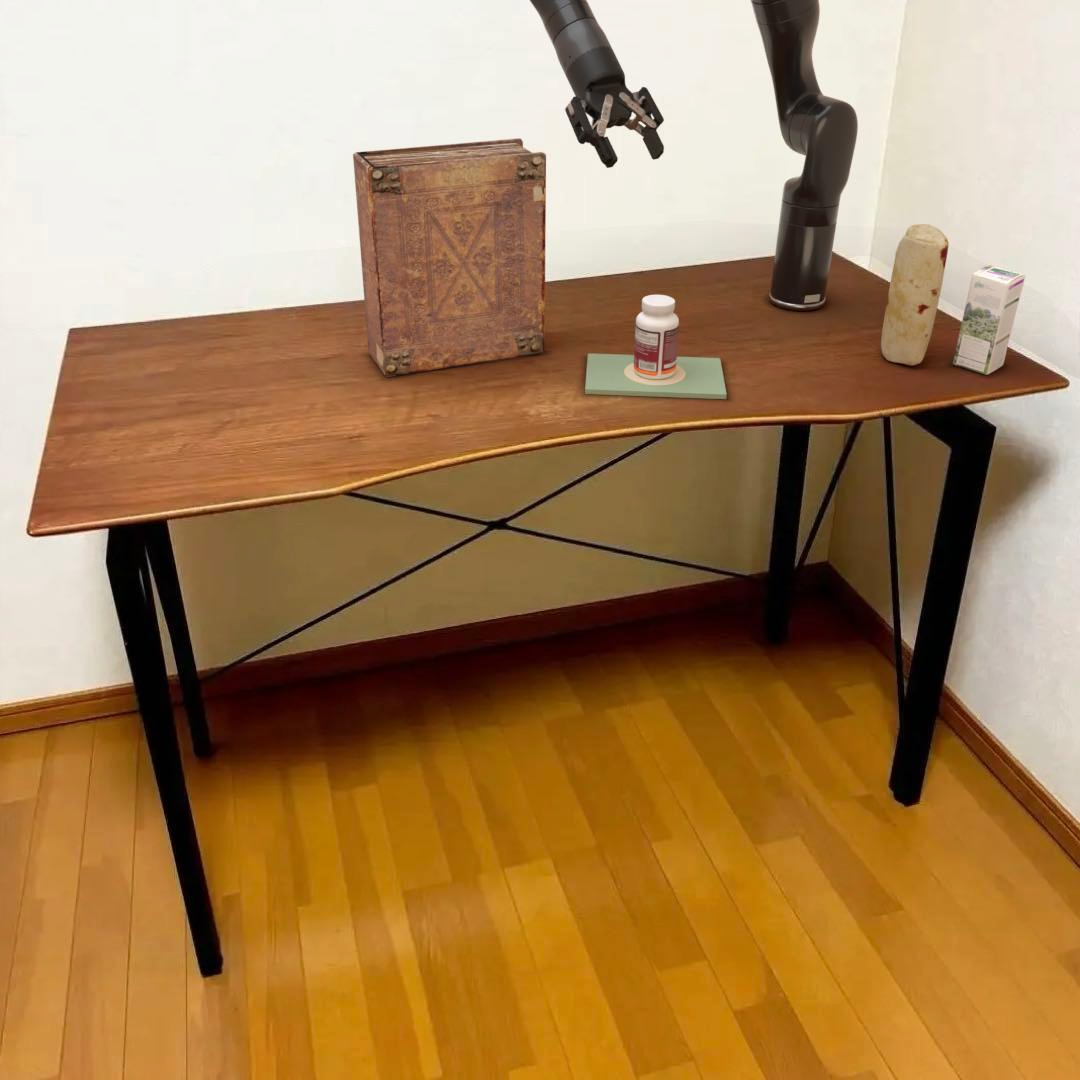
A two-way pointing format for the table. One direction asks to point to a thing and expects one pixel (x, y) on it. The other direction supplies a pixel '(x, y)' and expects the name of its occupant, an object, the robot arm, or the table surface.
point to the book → (452, 253)
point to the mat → (687, 381)
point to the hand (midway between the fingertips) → (636, 160)
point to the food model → (914, 294)
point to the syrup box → (988, 319)
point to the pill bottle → (656, 338)
